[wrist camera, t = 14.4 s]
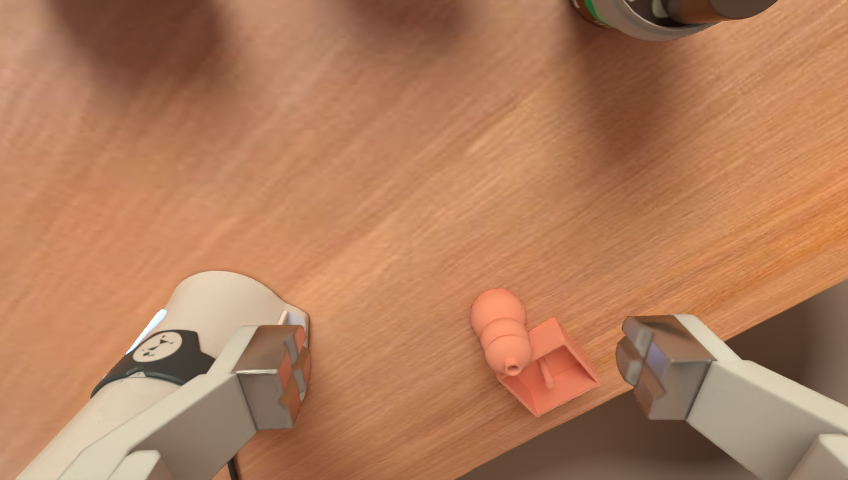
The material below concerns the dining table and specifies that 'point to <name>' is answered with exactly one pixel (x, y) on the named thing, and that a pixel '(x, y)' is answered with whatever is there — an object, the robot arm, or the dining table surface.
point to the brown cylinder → (713, 10)
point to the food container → (636, 18)
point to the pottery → (530, 353)
